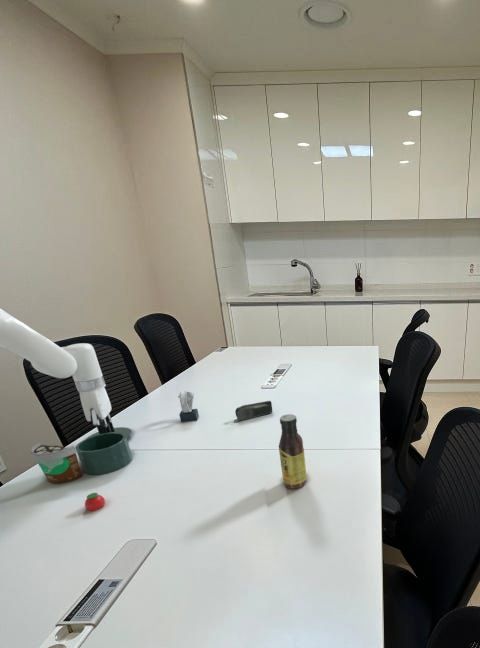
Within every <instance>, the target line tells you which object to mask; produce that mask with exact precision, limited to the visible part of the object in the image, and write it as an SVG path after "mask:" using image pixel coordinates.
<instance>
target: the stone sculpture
mask: <svg viewBox="0 0 480 648" xmlns="http://www.w3.org/2000/svg"><path fill="white" fill-rule="evenodd" d="M194 397H195V395H194V392H192V391H191V390H181V391H179V393H178V396H177V398H178V399H179V403H180V408H181V411H180V412H179V419H180V423H188V422H197V421H198V420H199V417H200V415H199V410H198V408H193V402H194Z"/></svg>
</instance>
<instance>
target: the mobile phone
mask: <svg viewBox="0 0 480 648" xmlns="http://www.w3.org/2000/svg"><path fill="white" fill-rule="evenodd" d="M272 412H273V403H272V401H271V400H266V401H259V402H254V403H248V404H243V405H241V406H238V407H236V408H235V416H236V419H234V420H233V422H239V421H243V420H247V419H252V418H256V417H261V416H266V415H269V414H271V413H272Z"/></svg>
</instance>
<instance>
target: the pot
mask: <svg viewBox="0 0 480 648" xmlns="http://www.w3.org/2000/svg"><path fill="white" fill-rule="evenodd" d="M86 438H87V439H86ZM86 438H84V439H83V440H82V441H80V442H78V443H77V444H76V445H75V446H74V448H75V449H76V451H77V453H76V455H77V457H78V460H79V461H80V464H81V466H82V469H83V471H84V473H85V474H87V475H90V476H101V475H105V474H110V473H113V472H117V471H119V470H121V469H124V468H125V467H126V466H128V465H129V464H130V463H131V462H132V461H133V454H132V451H131V448H130V445H129V441H128V438H126V436H125V434H123V433H120V432H111V433H103V434H99V435H96V436H92V437H90V438H88V437H86Z"/></svg>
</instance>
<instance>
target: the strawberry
mask: <svg viewBox="0 0 480 648" xmlns="http://www.w3.org/2000/svg"><path fill="white" fill-rule="evenodd" d="M105 504H106V499H105V498H104V496H102V494H98V493H97V492H92V493H89V494H88V495H86V499H85V501H84V507H85V508H86V509H87V510H88V511H90V512H95V511H98V510H100V509H102V508H103V507H105Z"/></svg>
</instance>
